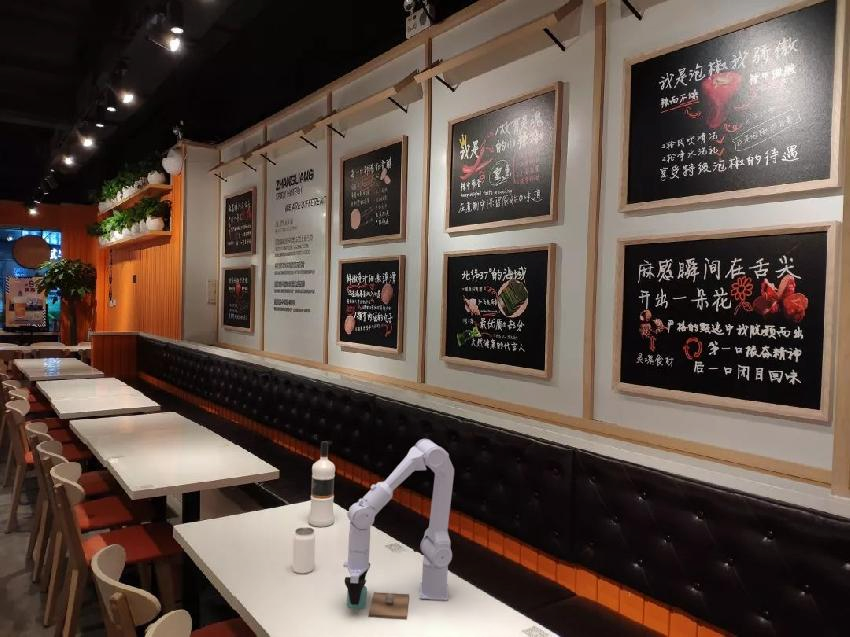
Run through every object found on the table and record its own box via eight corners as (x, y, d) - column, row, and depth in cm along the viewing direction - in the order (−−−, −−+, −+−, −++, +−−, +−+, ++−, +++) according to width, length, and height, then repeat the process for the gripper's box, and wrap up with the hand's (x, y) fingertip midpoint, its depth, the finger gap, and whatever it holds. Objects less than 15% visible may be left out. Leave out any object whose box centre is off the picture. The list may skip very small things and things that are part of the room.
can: (315, 565, 194) (316, 527, 194) (312, 574, 188) (313, 535, 187) (294, 564, 194) (295, 526, 194) (290, 573, 188) (292, 534, 187)
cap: (348, 599, 174) (349, 583, 174) (367, 600, 174) (367, 584, 174) (345, 608, 169) (346, 592, 169) (364, 610, 169) (365, 593, 169)
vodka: (327, 529, 223) (330, 446, 222) (303, 525, 226) (307, 442, 225) (338, 520, 232) (341, 440, 231) (315, 516, 235) (318, 437, 233)
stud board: (373, 594, 177) (374, 582, 177) (408, 597, 177) (409, 584, 177) (368, 616, 165) (369, 603, 165) (406, 619, 165) (406, 606, 165)
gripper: (348, 536, 178) (346, 583, 179) (339, 558, 164) (337, 609, 164) (373, 538, 178) (370, 585, 179) (366, 560, 164) (364, 611, 164)
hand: (356, 597), depth 171 cm, fingers open, 7 cm apart
